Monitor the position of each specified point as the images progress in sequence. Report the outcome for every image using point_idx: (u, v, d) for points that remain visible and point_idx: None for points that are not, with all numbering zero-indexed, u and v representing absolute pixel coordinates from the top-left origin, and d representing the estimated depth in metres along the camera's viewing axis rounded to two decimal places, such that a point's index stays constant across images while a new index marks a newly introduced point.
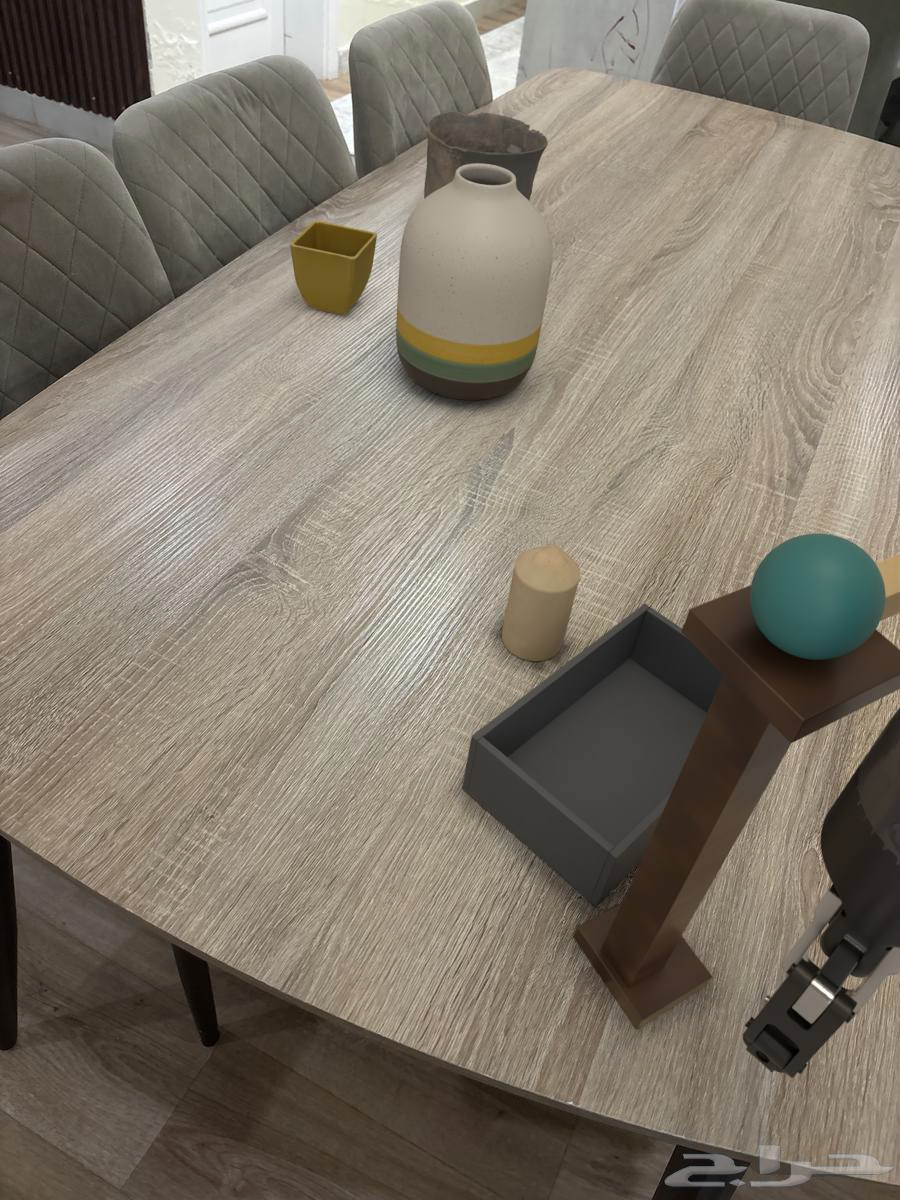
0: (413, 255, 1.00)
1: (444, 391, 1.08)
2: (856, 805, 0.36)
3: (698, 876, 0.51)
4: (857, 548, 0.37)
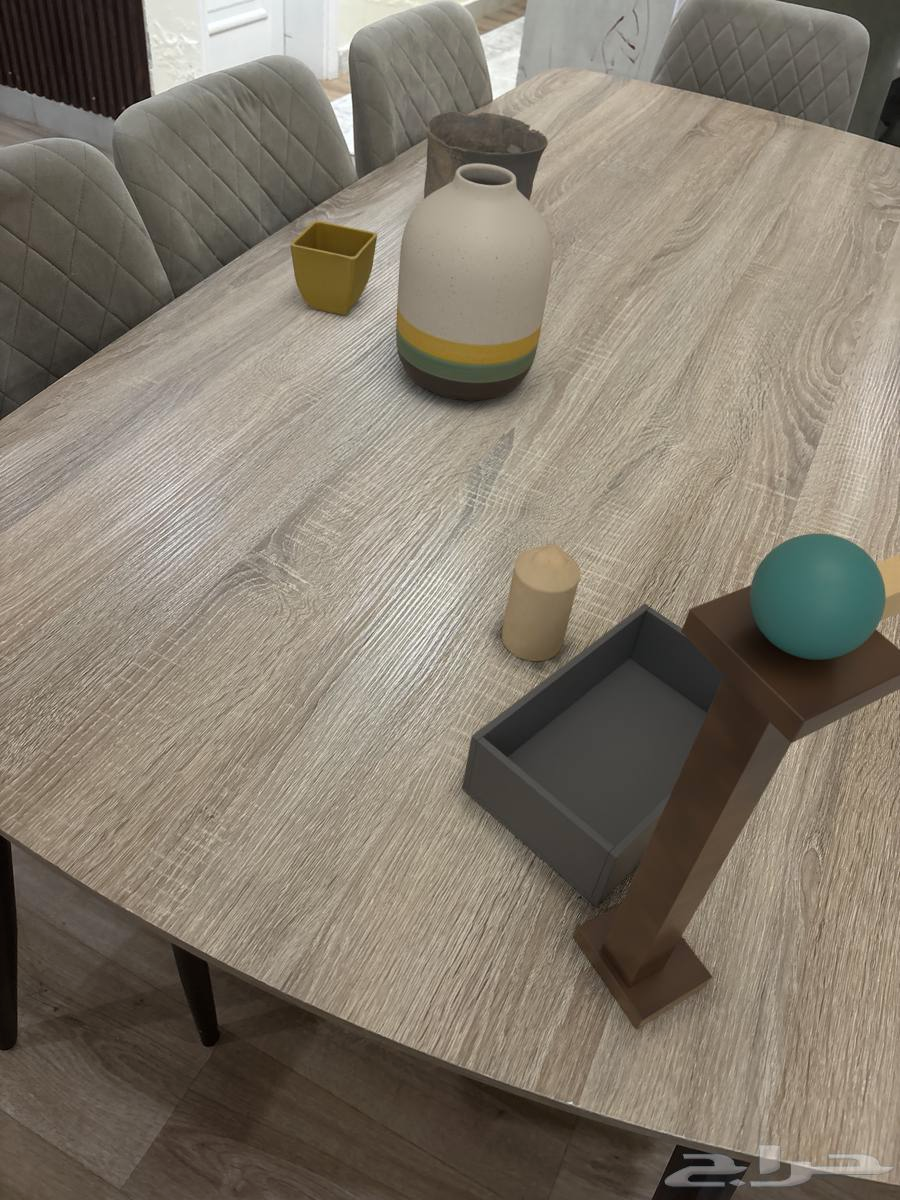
0: (413, 255, 1.00)
1: (444, 391, 1.08)
2: None
3: (698, 876, 0.51)
4: (857, 548, 0.37)
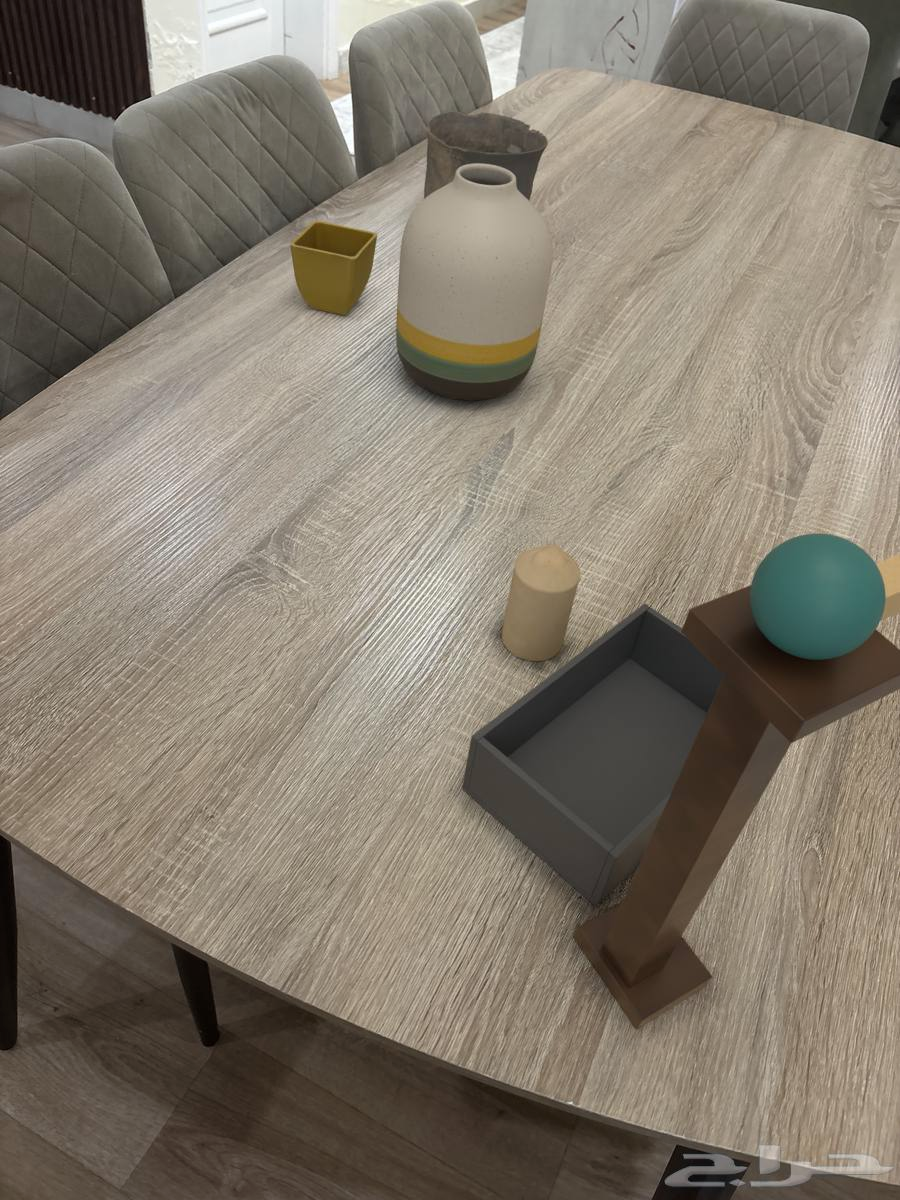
0: (413, 255, 1.00)
1: (444, 391, 1.08)
2: None
3: (698, 876, 0.51)
4: (857, 548, 0.37)
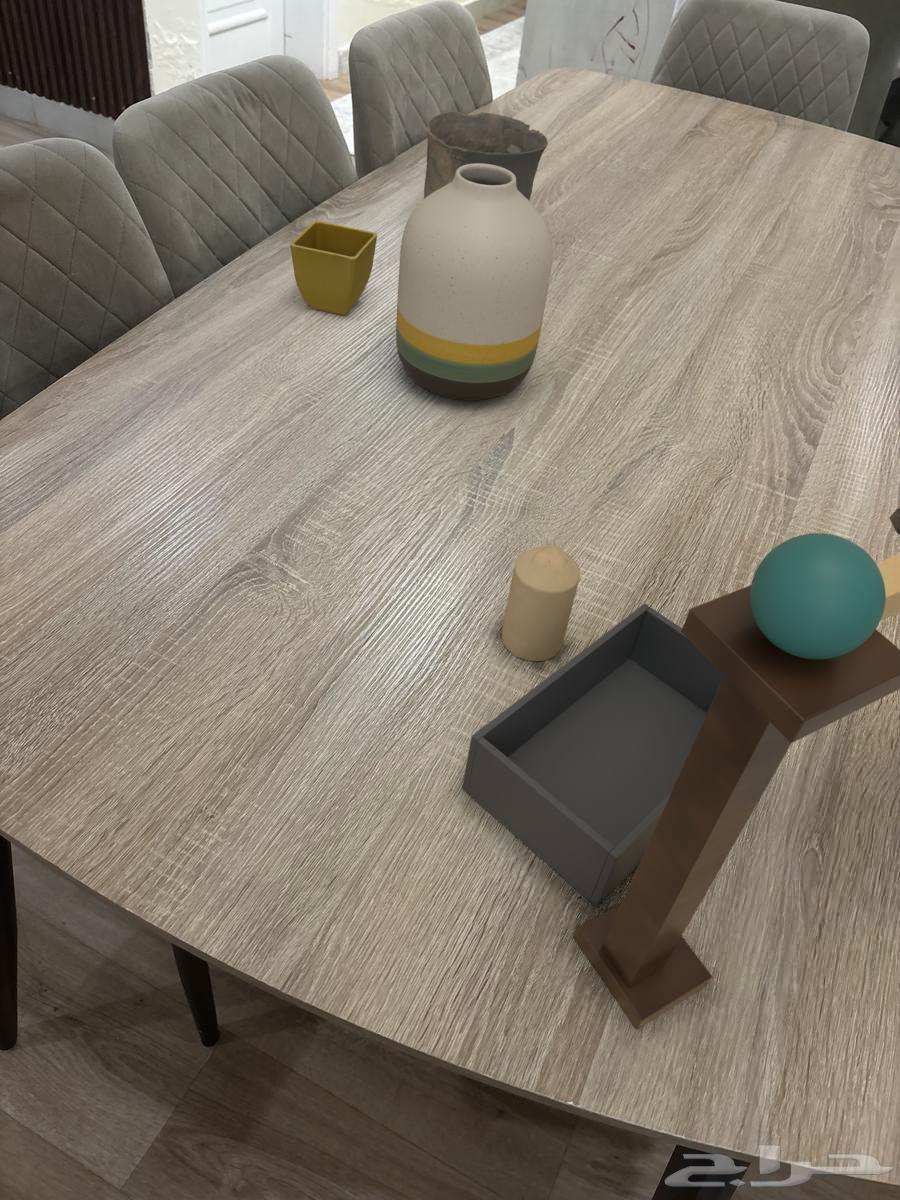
0: (413, 255, 1.00)
1: (444, 391, 1.08)
2: None
3: (698, 876, 0.51)
4: (857, 548, 0.37)
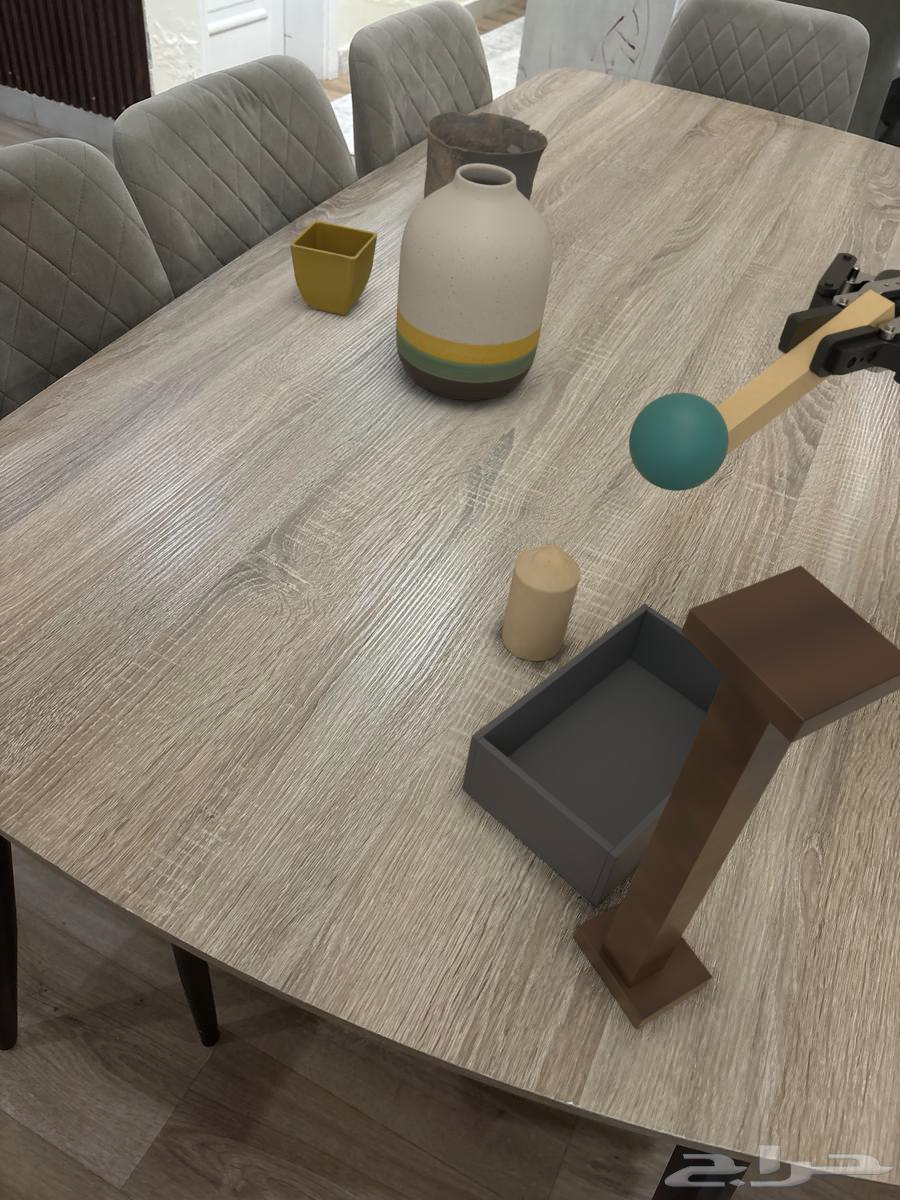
0: (413, 255, 1.00)
1: (444, 391, 1.08)
2: None
3: (698, 876, 0.51)
4: (687, 404, 0.48)
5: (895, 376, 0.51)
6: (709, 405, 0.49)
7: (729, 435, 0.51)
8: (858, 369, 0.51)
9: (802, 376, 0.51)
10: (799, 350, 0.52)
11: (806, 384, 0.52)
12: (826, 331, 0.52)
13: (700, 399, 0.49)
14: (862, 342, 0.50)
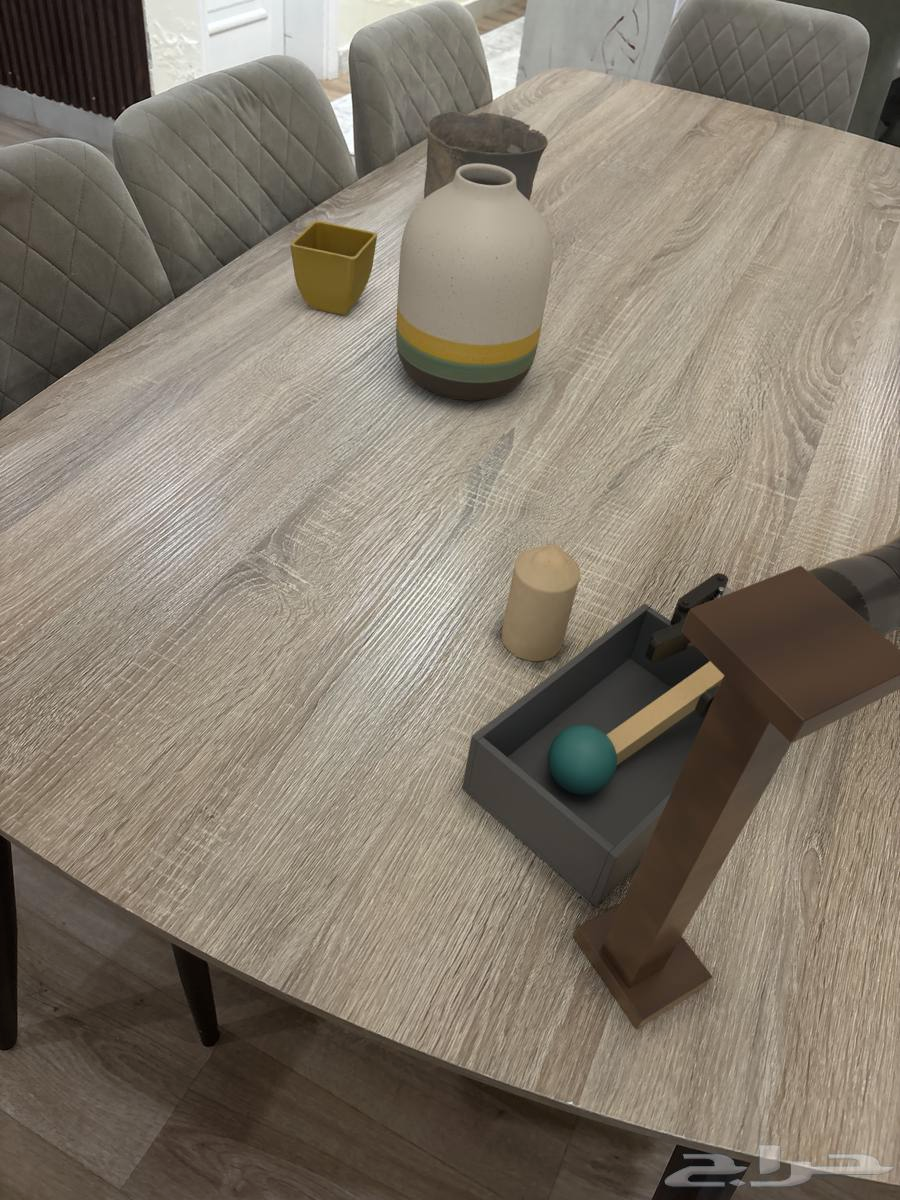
0: (413, 255, 1.00)
1: (444, 391, 1.08)
2: None
3: (698, 876, 0.51)
4: (588, 739, 0.69)
5: None
6: (604, 739, 0.69)
7: (618, 755, 0.71)
8: None
9: (671, 716, 0.72)
10: (670, 695, 0.73)
11: (674, 719, 0.73)
12: (689, 682, 0.73)
13: (598, 734, 0.70)
14: None
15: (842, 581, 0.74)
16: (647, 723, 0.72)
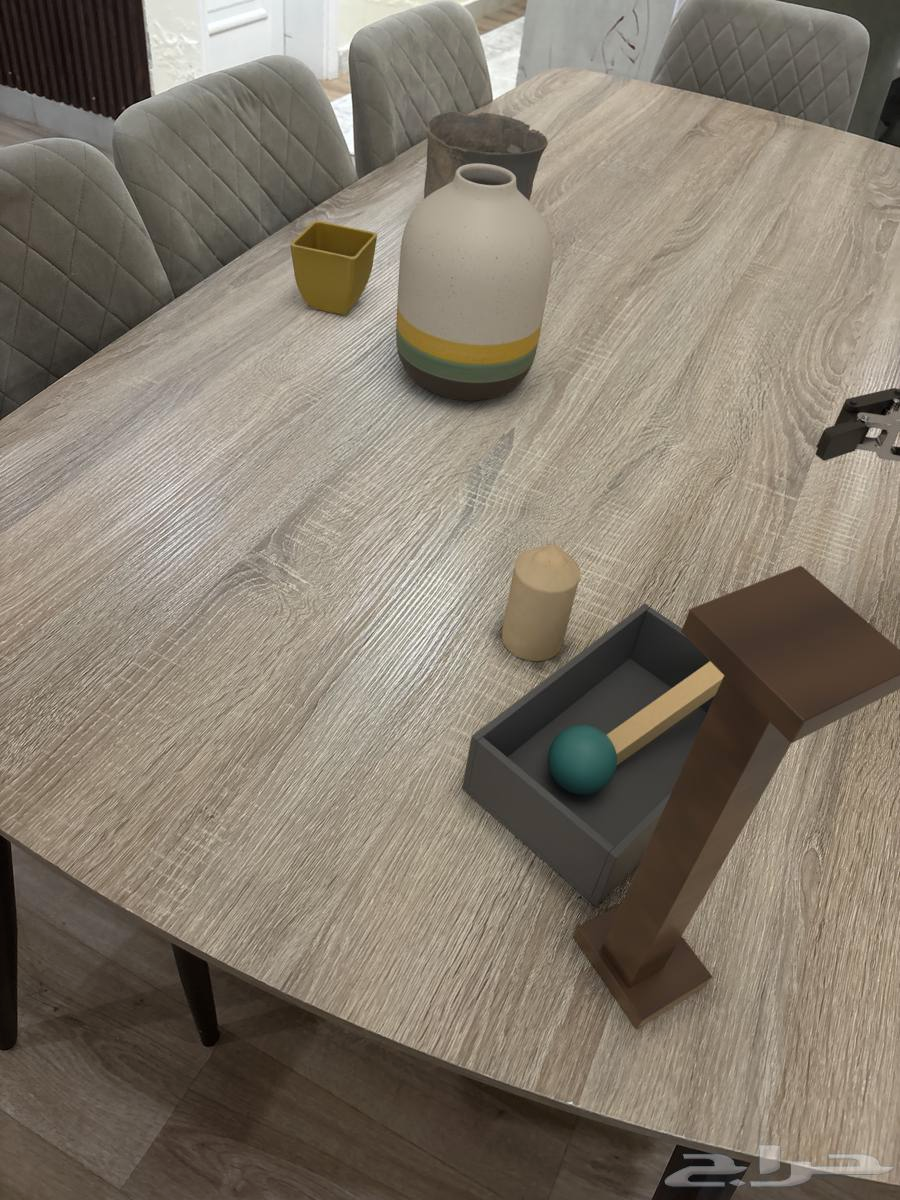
0: (413, 255, 1.00)
1: (444, 391, 1.08)
2: None
3: (698, 876, 0.51)
4: (588, 739, 0.69)
5: None
6: (604, 739, 0.69)
7: (618, 755, 0.71)
8: None
9: (671, 716, 0.72)
10: (670, 695, 0.73)
11: (674, 719, 0.73)
12: (689, 682, 0.73)
13: (598, 734, 0.70)
14: None
15: None
16: (647, 723, 0.72)
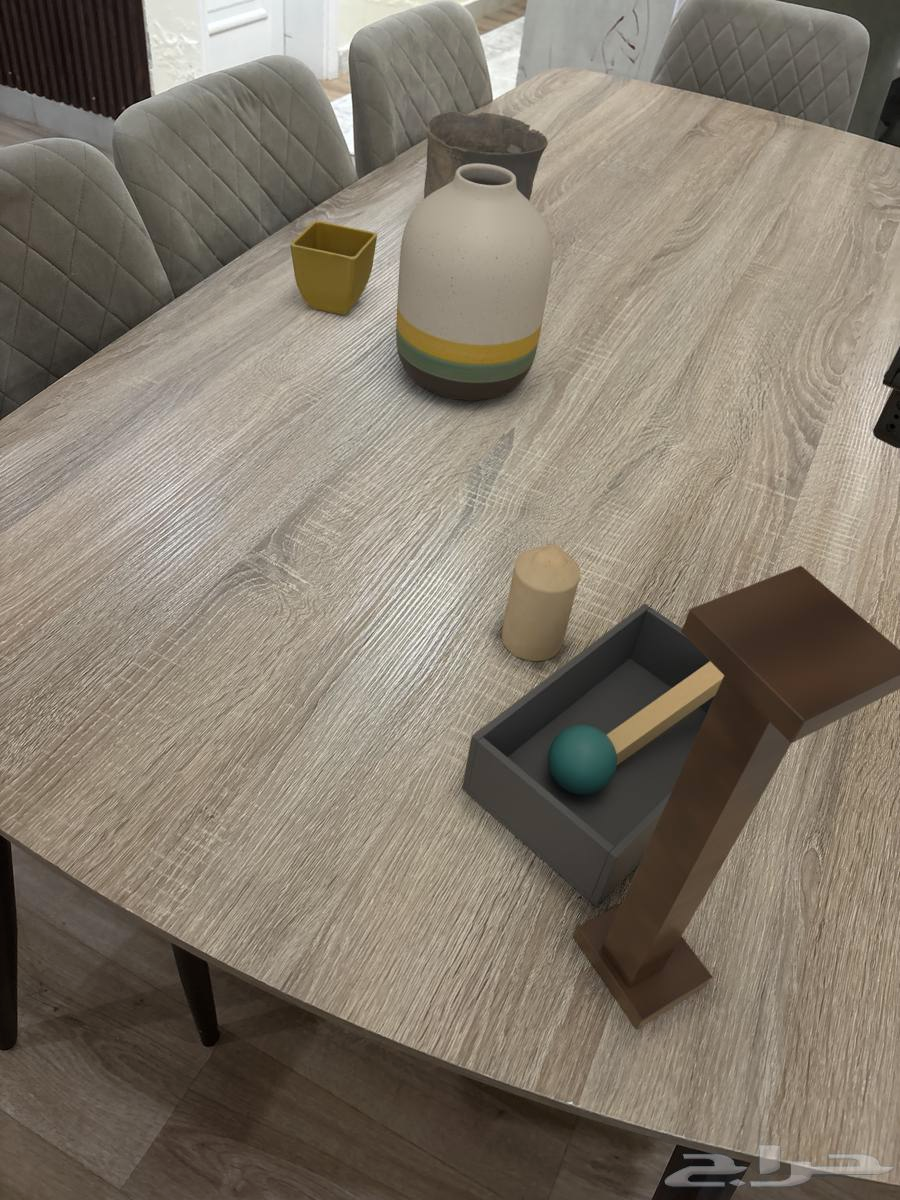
0: (413, 255, 1.00)
1: (444, 391, 1.08)
2: None
3: (698, 876, 0.51)
4: (588, 739, 0.69)
5: None
6: (604, 739, 0.69)
7: (618, 755, 0.71)
8: None
9: (671, 716, 0.72)
10: (670, 695, 0.73)
11: (674, 719, 0.73)
12: (689, 682, 0.73)
13: (598, 734, 0.70)
14: None
15: None
16: (647, 723, 0.72)
